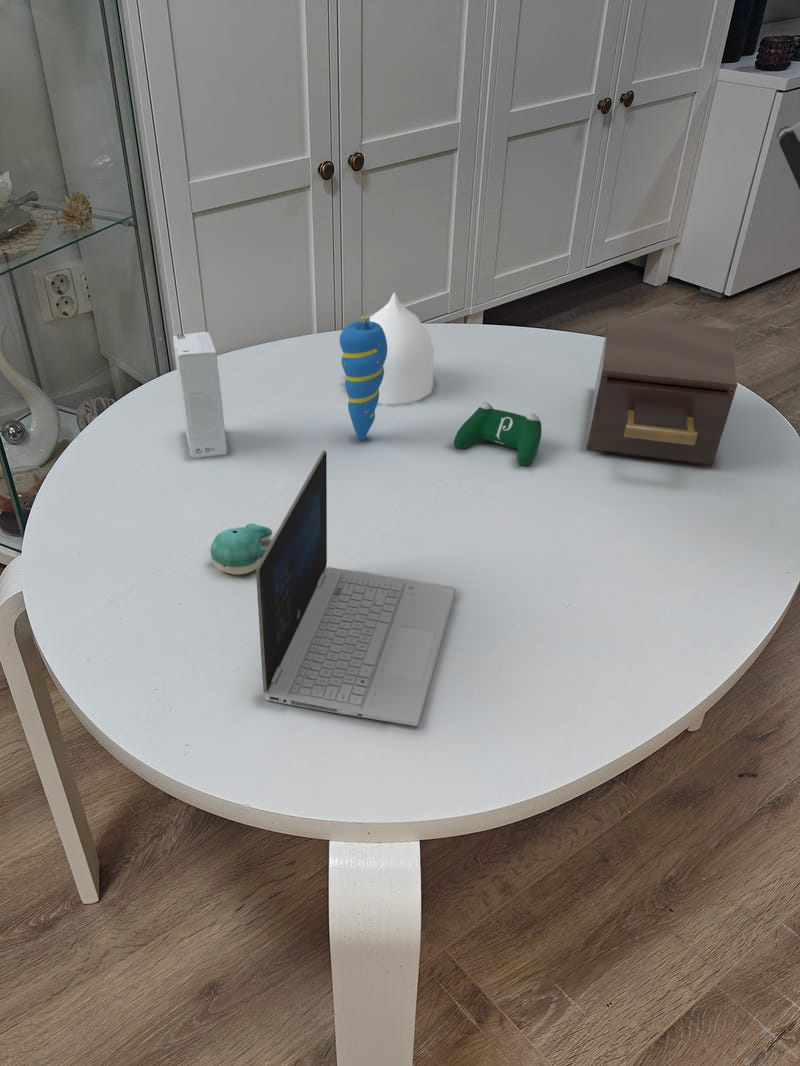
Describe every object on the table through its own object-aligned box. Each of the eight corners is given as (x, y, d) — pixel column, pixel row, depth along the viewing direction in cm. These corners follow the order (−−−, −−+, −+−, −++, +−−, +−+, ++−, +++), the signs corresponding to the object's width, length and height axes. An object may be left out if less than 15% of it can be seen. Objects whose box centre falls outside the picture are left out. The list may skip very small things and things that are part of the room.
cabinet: (712, 467, 100) (737, 384, 93) (585, 451, 103) (602, 370, 96) (707, 405, 111) (729, 328, 105) (593, 392, 114) (609, 317, 108)
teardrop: (367, 362, 122) (370, 270, 114) (445, 376, 118) (453, 283, 110) (332, 394, 114) (332, 299, 106) (414, 411, 110) (420, 313, 103)
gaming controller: (533, 474, 102) (552, 425, 102) (527, 463, 99) (547, 412, 99) (458, 454, 106) (476, 407, 106) (450, 443, 102) (469, 393, 102)
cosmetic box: (228, 455, 102) (220, 351, 95) (189, 460, 102) (177, 356, 94) (221, 430, 107) (212, 329, 99) (183, 434, 106) (171, 333, 98)
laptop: (417, 732, 69) (429, 597, 61) (262, 701, 72) (253, 568, 63) (455, 593, 82) (469, 467, 74) (322, 572, 85) (322, 447, 77)
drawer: (710, 486, 95) (732, 418, 90) (589, 470, 97) (603, 403, 92) (704, 406, 109) (723, 343, 104) (599, 394, 112) (611, 332, 107)
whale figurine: (198, 570, 86) (194, 536, 83) (237, 531, 91) (234, 498, 88) (251, 586, 84) (249, 552, 81) (288, 545, 89) (287, 512, 86)
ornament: (334, 447, 104) (335, 317, 94) (344, 427, 107) (345, 300, 98) (378, 452, 103) (384, 322, 93) (387, 431, 106) (393, 304, 97)
